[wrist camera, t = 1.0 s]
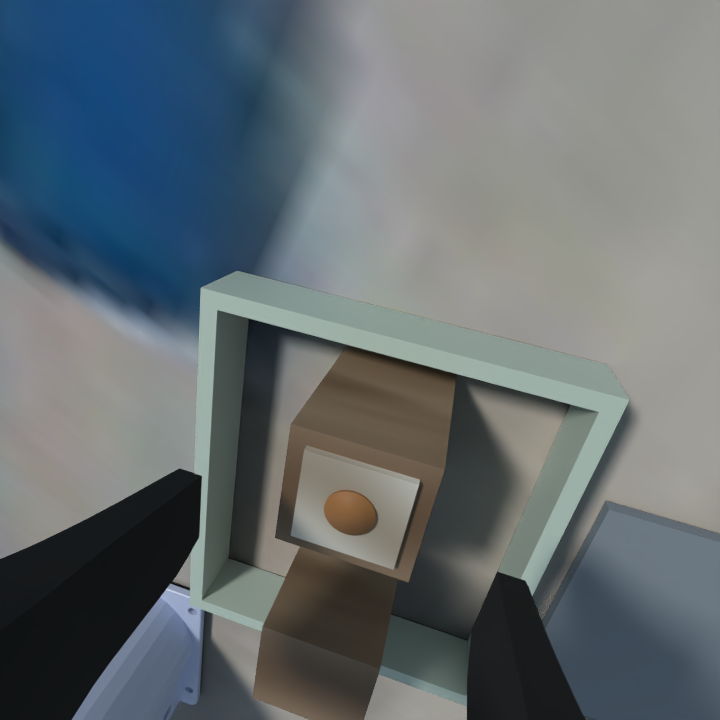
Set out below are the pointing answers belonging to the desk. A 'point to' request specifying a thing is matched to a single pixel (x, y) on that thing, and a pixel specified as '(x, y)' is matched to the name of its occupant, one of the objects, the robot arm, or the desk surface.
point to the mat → (641, 619)
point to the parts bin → (411, 343)
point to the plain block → (324, 638)
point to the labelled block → (367, 461)
